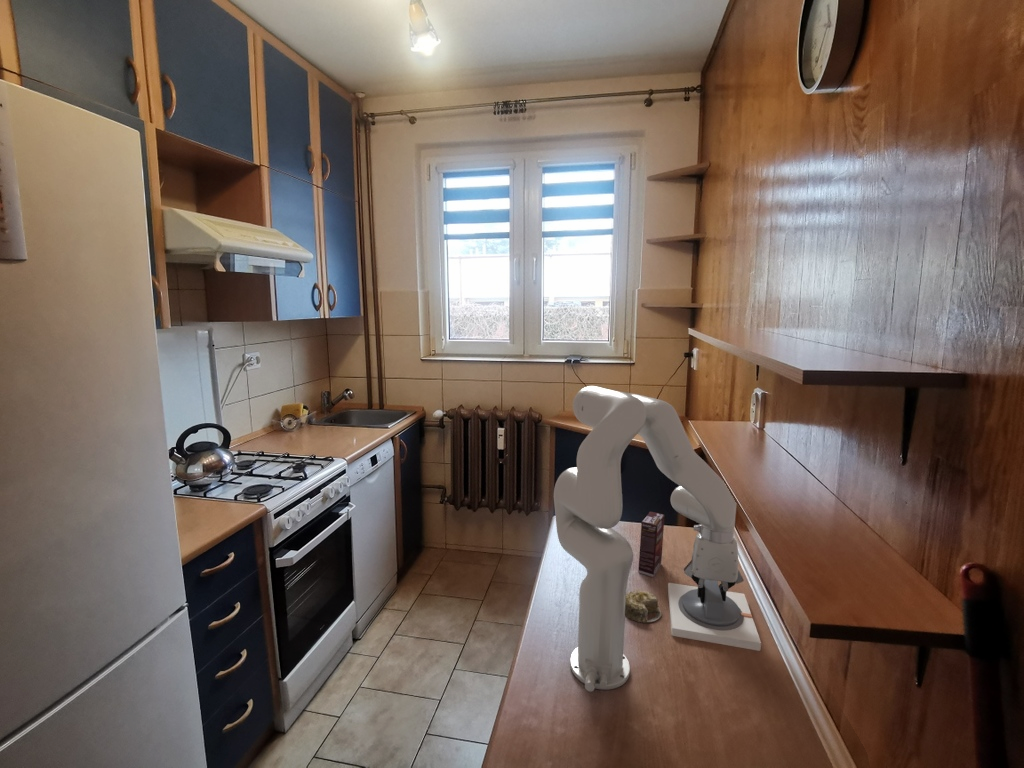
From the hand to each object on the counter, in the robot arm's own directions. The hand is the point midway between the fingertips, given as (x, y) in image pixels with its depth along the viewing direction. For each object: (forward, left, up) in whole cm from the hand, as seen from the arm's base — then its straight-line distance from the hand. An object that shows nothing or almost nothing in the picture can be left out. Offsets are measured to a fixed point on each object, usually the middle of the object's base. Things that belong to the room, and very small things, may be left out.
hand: (711, 600), depth 119 cm
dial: (0, 0, -2) cm, 2 cm away
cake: (-2, +17, -5) cm, 17 cm away
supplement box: (+19, +14, -5) cm, 24 cm away
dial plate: (0, 0, -5) cm, 5 cm away
